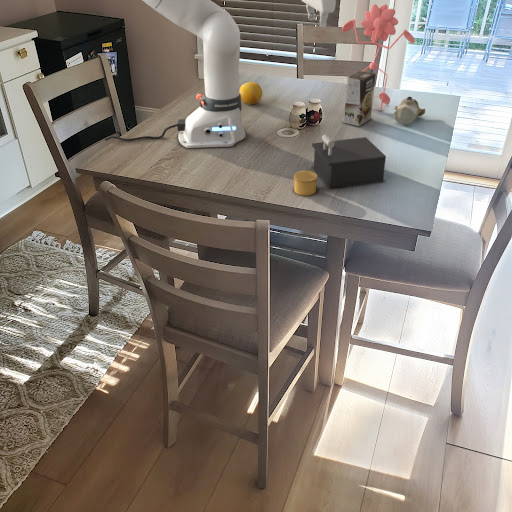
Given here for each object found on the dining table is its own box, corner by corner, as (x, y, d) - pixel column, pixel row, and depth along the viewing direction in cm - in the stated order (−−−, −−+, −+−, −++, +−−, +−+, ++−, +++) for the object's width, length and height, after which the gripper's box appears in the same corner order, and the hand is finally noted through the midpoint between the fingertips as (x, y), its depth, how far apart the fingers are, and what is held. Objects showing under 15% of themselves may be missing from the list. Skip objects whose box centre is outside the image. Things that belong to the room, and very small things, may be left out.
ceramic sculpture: (389, 99, 188) (399, 88, 200) (386, 124, 193) (396, 112, 204) (421, 104, 184) (430, 93, 196) (417, 129, 189) (425, 117, 201)
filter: (297, 197, 152) (298, 182, 149) (290, 186, 157) (291, 172, 154) (319, 194, 153) (320, 179, 151) (312, 183, 158) (312, 169, 156)
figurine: (403, 114, 201) (418, 10, 181) (333, 106, 209) (340, 6, 189) (408, 100, 213) (422, 1, 193) (342, 93, 220) (349, -3, 200)
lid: (328, 166, 151) (329, 148, 148) (311, 145, 163) (312, 129, 160) (385, 158, 155) (388, 141, 152) (365, 139, 166) (367, 122, 163)
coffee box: (359, 126, 192) (363, 80, 183) (342, 122, 195) (346, 76, 186) (371, 118, 198) (376, 73, 189) (355, 115, 201) (359, 70, 192)
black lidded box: (330, 188, 156) (331, 165, 152) (313, 167, 167) (314, 145, 163) (382, 181, 159) (385, 159, 155) (363, 161, 170) (365, 139, 166)
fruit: (235, 104, 212) (234, 83, 207) (246, 98, 218) (246, 77, 213) (255, 108, 208) (254, 87, 204) (266, 102, 214) (266, 81, 209)
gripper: (294, -32, 166) (296, 17, 174) (318, -21, 150) (318, 32, 158) (314, -35, 167) (315, 14, 175) (340, -24, 151) (339, 29, 159)
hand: (317, 23), depth 166 cm, fingers open, 8 cm apart
